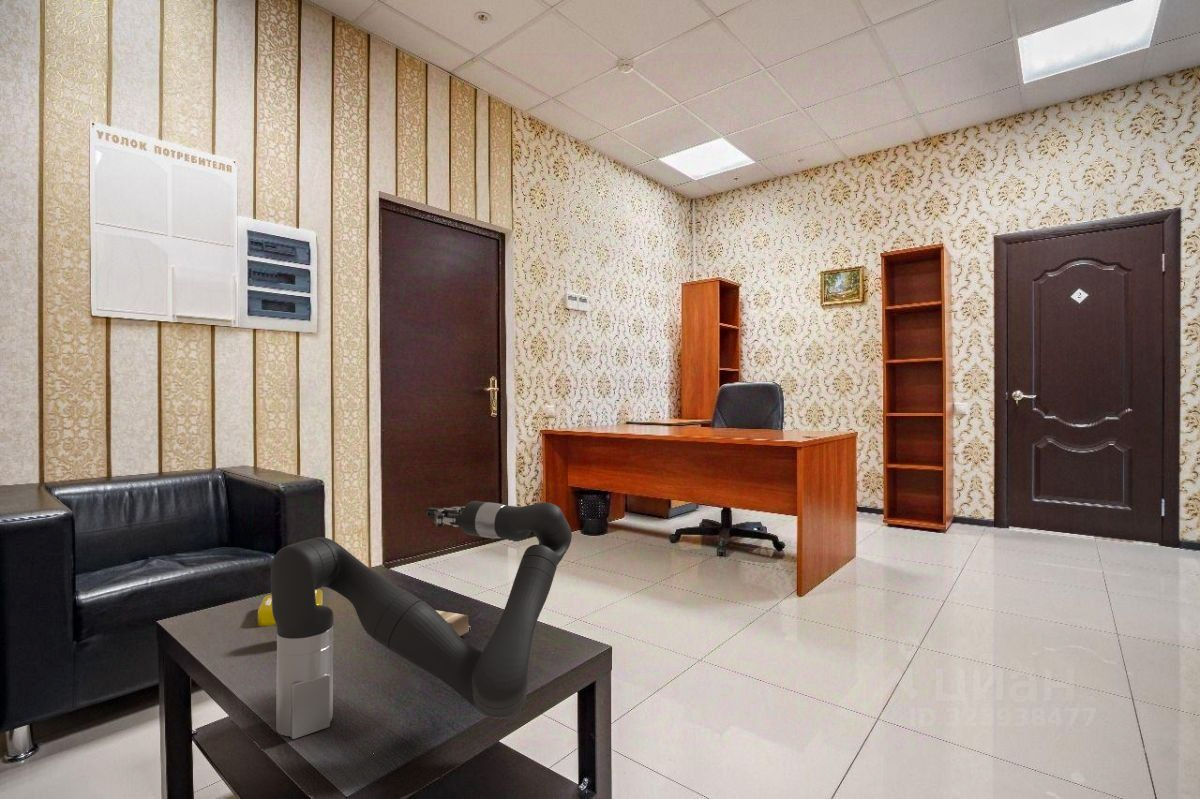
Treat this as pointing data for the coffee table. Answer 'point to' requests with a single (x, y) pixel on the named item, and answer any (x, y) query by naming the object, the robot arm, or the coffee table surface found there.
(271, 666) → the coffee table surface
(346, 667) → the coffee table surface
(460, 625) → the birch block
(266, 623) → the element tile
